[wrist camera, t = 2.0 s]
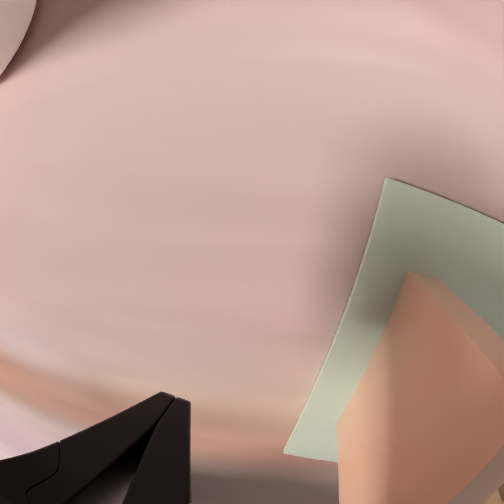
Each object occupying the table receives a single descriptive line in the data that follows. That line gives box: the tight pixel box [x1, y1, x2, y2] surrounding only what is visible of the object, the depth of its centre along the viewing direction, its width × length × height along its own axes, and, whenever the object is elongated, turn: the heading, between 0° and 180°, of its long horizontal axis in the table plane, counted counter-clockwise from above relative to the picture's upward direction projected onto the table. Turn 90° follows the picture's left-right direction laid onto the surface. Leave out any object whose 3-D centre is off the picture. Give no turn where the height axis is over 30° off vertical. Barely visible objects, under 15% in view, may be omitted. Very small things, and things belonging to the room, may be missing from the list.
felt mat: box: [283, 178, 504, 462], centre depth 11 cm, size 14×12×1 cm
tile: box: [336, 270, 504, 504], centre depth 8 cm, size 8×2×8 cm, turn 167°
